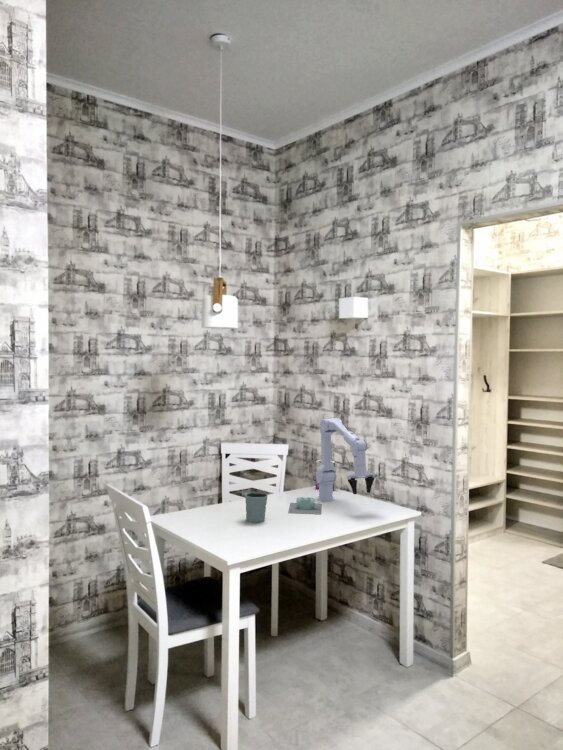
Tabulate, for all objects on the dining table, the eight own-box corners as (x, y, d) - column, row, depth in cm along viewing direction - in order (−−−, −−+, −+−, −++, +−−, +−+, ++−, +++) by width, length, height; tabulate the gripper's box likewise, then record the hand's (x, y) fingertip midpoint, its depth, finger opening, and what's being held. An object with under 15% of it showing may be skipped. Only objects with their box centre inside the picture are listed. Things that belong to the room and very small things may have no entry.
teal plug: (296, 509, 285) (296, 499, 285) (296, 506, 289) (296, 497, 289) (319, 510, 284) (319, 499, 284) (319, 507, 288) (319, 497, 288)
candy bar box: (336, 489, 331) (336, 460, 330) (334, 491, 326) (334, 462, 326) (317, 487, 335) (317, 459, 334) (315, 489, 330) (315, 460, 329)
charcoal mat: (290, 503, 297) (290, 502, 297) (321, 504, 296) (321, 503, 296) (287, 514, 278) (287, 513, 278) (321, 515, 276) (321, 514, 276)
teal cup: (240, 519, 267) (240, 494, 266) (256, 515, 274) (257, 490, 273) (255, 524, 260) (255, 498, 259) (271, 520, 267) (271, 494, 266)
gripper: (351, 466, 274) (353, 495, 272) (377, 464, 279) (379, 492, 278) (343, 465, 280) (345, 494, 279) (369, 463, 286) (371, 491, 285)
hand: (361, 493), depth 279 cm, fingers open, 7 cm apart
